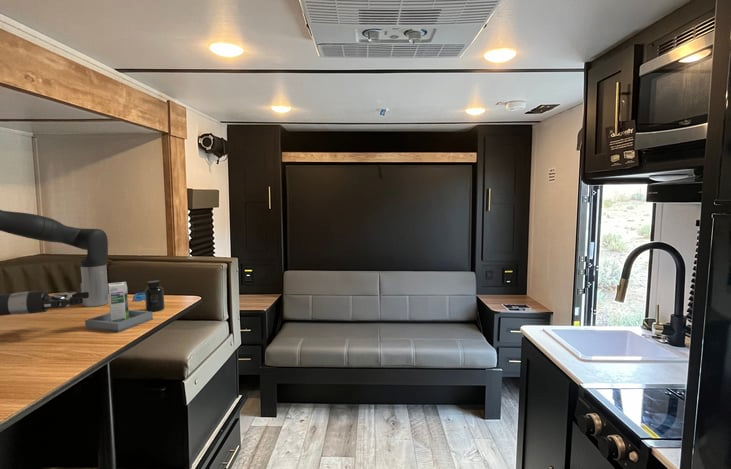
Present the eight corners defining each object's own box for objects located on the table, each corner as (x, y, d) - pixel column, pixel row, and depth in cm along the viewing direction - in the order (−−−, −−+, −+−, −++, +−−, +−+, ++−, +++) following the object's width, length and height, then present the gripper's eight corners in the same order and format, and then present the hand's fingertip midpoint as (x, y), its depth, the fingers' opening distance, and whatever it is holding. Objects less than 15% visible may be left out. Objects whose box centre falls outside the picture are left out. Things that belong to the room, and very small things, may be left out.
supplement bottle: (168, 307, 168) (166, 279, 166) (158, 312, 161) (156, 283, 160) (152, 307, 168) (151, 279, 167) (142, 311, 162) (140, 283, 160)
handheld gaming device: (133, 299, 178) (135, 292, 191) (133, 302, 178) (135, 295, 191) (154, 297, 181) (154, 290, 195) (154, 300, 181) (154, 293, 195)
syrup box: (111, 325, 142) (108, 285, 141) (110, 320, 147) (108, 282, 146) (129, 322, 146) (127, 283, 144) (128, 318, 150) (126, 280, 149)
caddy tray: (85, 328, 141) (85, 320, 141) (122, 316, 156) (121, 308, 155) (118, 332, 137) (117, 323, 137) (152, 319, 151) (152, 311, 151)
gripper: (19, 296, 128) (80, 291, 135) (35, 287, 141) (89, 283, 148) (22, 319, 129) (81, 313, 135) (37, 307, 142) (91, 302, 148)
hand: (85, 297), depth 141 cm, fingers open, 8 cm apart
